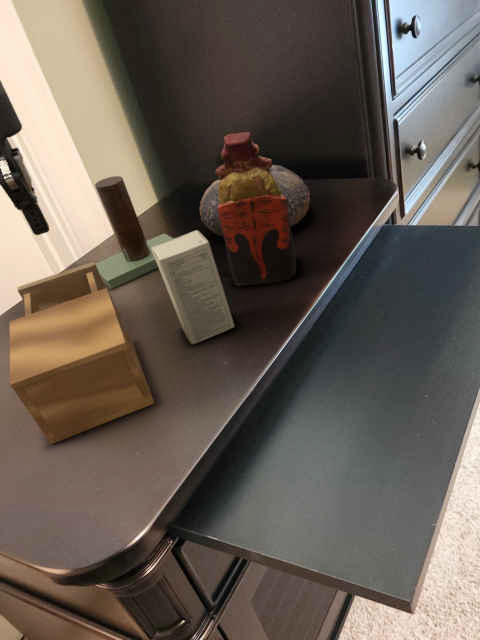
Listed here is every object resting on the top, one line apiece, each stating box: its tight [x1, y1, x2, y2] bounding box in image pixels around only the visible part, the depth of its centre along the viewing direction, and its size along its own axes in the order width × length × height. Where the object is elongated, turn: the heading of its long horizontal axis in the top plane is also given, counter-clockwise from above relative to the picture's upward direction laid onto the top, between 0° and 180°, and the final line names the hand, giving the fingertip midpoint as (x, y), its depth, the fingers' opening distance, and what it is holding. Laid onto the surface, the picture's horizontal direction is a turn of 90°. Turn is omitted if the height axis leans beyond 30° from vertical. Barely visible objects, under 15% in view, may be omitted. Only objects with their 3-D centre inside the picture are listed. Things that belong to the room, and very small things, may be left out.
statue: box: [214, 131, 297, 287], centre depth 71 cm, size 12×8×20 cm, turn 86°
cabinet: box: [9, 287, 155, 445], centre depth 60 cm, size 14×12×9 cm
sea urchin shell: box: [199, 164, 311, 239], centre depth 89 cm, size 19×19×10 cm
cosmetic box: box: [151, 229, 235, 345], centre depth 64 cm, size 6×4×12 cm
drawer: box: [16, 261, 107, 316], centre depth 70 cm, size 17×10×7 cm, turn 24°
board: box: [95, 233, 174, 290], centre depth 86 cm, size 14×8×2 cm, turn 128°
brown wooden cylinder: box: [94, 175, 150, 261], centre depth 82 cm, size 4×4×12 cm
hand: (42, 231), depth 74 cm, fingers closed
